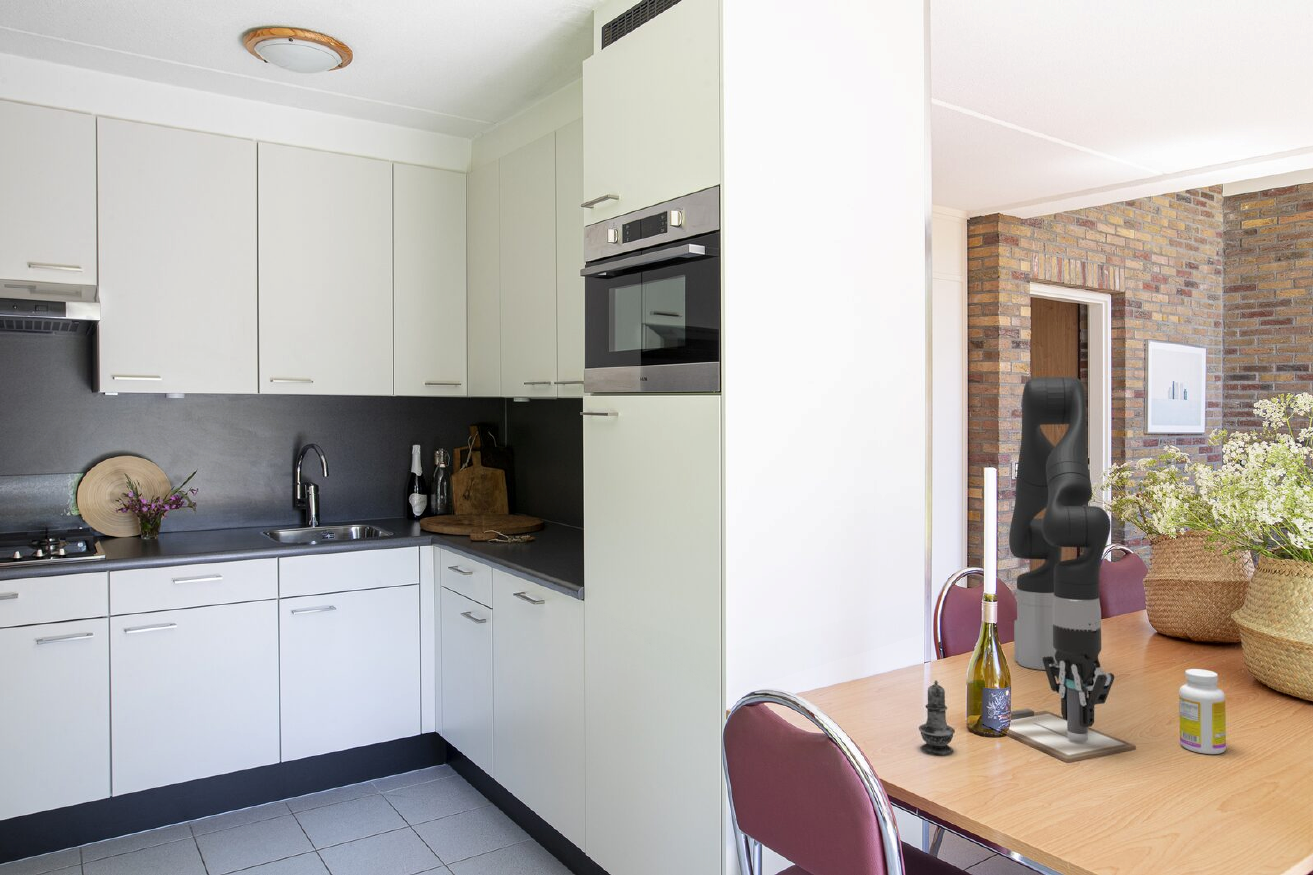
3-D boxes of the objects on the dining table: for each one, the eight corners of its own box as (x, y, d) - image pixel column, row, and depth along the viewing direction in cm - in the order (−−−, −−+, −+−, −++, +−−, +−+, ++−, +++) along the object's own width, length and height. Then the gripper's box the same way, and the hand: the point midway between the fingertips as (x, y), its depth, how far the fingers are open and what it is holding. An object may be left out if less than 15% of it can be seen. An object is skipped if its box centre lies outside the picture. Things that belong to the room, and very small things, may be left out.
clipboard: (981, 724, 164) (981, 715, 164) (1045, 713, 169) (1045, 705, 169) (1066, 762, 145) (1066, 753, 145) (1135, 749, 150) (1135, 739, 150)
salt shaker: (955, 745, 153) (954, 676, 153) (954, 758, 148) (954, 686, 148) (919, 742, 155) (918, 674, 155) (918, 754, 150) (917, 683, 150)
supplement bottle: (1222, 744, 152) (1222, 669, 151) (1229, 758, 146) (1228, 680, 145) (1177, 739, 154) (1176, 665, 154) (1181, 752, 148) (1181, 675, 148)
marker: (1062, 736, 153) (1061, 678, 153) (1077, 733, 154) (1076, 675, 154) (1077, 742, 150) (1077, 683, 150) (1093, 739, 151) (1092, 681, 151)
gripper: (1028, 616, 157) (1029, 713, 157) (1093, 633, 144) (1094, 739, 144) (1061, 612, 160) (1062, 708, 160) (1128, 629, 147) (1129, 733, 147)
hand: (1077, 722), depth 152 cm, fingers closed on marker, 3 cm apart
